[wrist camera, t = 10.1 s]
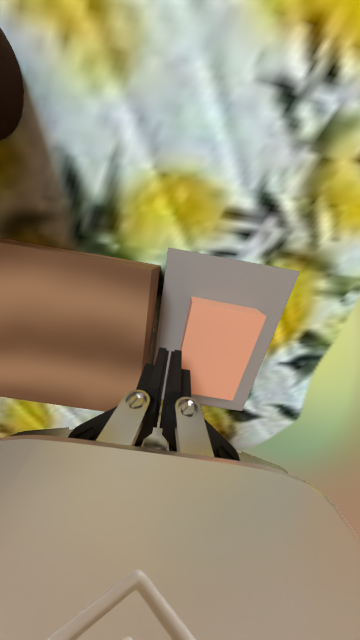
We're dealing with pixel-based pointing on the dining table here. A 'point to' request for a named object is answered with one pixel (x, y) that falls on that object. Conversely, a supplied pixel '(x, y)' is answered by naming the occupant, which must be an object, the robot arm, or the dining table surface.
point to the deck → (73, 325)
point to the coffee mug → (9, 89)
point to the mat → (228, 287)
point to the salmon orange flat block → (218, 345)
